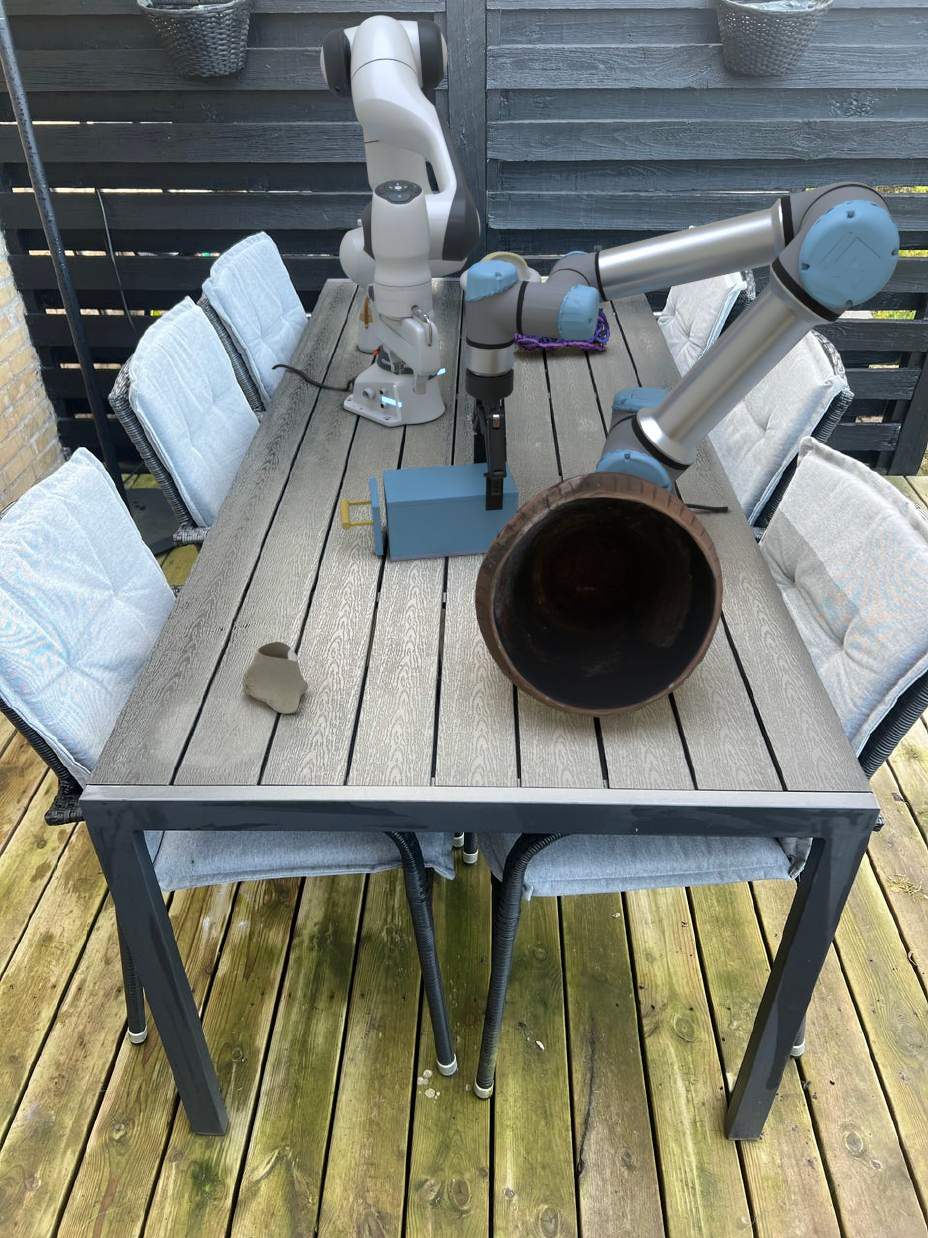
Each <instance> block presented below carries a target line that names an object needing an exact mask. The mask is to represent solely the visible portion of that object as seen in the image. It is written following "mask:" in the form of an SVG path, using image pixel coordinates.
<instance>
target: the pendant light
mask: <svg viewBox="0 0 928 1238" xmlns="http://www.w3.org/2000/svg"><path fill="white" fill-rule="evenodd" d="M357 226H359V227H363V226H362V222H361V218H359V219H357ZM370 300H371V299H370V298H369V297H368V295H366V298H365V300H364V304H363V305H364V306H363V307H364V308H362V309H361V310H360V312H359V317H358V331H357V343H356V344H357V347H358V350H359V351H361V352H364V353H368V354H369V353H370V354H374V353H375V352H372V351H374V350H376V349H377V348H378V346H380V345H382V344H383V343H382V342H381V341H380V340H378V338H377V336H376V334H375V330H374V325H373V318H372V310H371V306H369V303H370Z"/></svg>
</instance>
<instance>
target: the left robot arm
mask: <svg viewBox="0 0 928 1238" xmlns="http://www.w3.org/2000/svg"><path fill="white" fill-rule="evenodd" d="M448 54H449V53H448V45H447V43H446V39H445V37H444V34H443V33H442V31H441V27H440V26H439V25H438V24H437V23H436V22H435V21H432V20H429V19H421V18H418V19H417V20H416V21H415V20H401V19H400V20H397V19H395V18H393V17H392V16H388V15H373V16H371V17H369V18H366V19H365V20H363V22H361V23H360V25H357V26H352V27H348V28H344V27H339V28H336V29H333V30H331V31H329V32H327V33H326V35H325V36H324V38H323V39H322V46H321V50H320V54H319V55H320V57H319V58H320V59H319V60H320V61H319V64H320V69H321V74H322V77H323V79H324V81H325V83H326V84H327V86H328V89H329V90H330V92H331V93H332V94H334V96H336V97H340V98H345V99H352V104H353V110H354V113H355V116H356V119H357V121H358V123H359V125H360V126H361V127H362V133H363V135H362V136H363V143H364V144H363V145H364V153H365V161H366V169H367V179H368V184H369V187H370V189H371V191H372V196H371V197H372V198H371V200H370V201H369V202H368V203H367V204H366V206H365V207H364V209H362V211H361V212H360V219H361V222H362V226H359V227H357V228H353V229H351V230H348V231H347V232H345V234H344V236H343V237H342V240H341V243H340V246H339V251H338V252H339V254H338V255H339V256H338V257H339V262H340V265H341V268H342V270H343V272H344V274H345V275H346V276H347V277H348V279H349V280H350V281H351V282H353V283H354V284H356V285H358V287H360V288H362V289H363V290H364V291H365V292H366V294H367V296H368V297H369V298H370V299H369V300H370V307H371V310H372V318H373V325H374V330H375V334H376V336H377V338H378V340H380V341H381V342H382V343H383V344H382V345H380V346H378V348H377V349H376V350H374V351H372V352H375V353H372V357H375V356H377V359H376V361H375V362H374V363H372V364H371V365H370V366H369V367H367V368H366V369H365V370H362V372H361V373H360V374H357V375H356V376H353V377H352V378H351V379H349V380H348V381H347V382H346V386H345V387H342V388H335V387H331V386H328V385H326V384H323V383H321V382H318V381H316V380H314V379H311V378H310V377H309V376H308V375H307V374H306V373H305V372H304V371H302V370H300V369H298V368H295V367H293V366H290V365H288V364H283V363H278V364H275V365H272V368H271V370H272V371H274V370H276V369H278V368H284V369H288V370H289V371H293V372H295V373H298V374H300V375H301V376H302V377H303V378H304V379H305V381H307V382H308V383H310V384H313V385H315V386H317V387H319V388H323V389H325V390H330V391H331V390H332V391H340V392H347V391H349V390H350V388H351V387H352V393H350V394H349V395H348V396H347V397H346V398H345V400H344V401H343V409H345V410H347V411H349V412H352V413H353V414H356V415H358V416H361V417H363V418H366V419H369V420H371V421H373V422H375V423H378V424H381V425H384V426H386V427H389V428H393V427H398V426H403V425H415V424H423V423H428V422H431V421H433V420H436V419H438V418H440V417H441V416H442V415H443V414H444V413H445V411H446V406H445V403H444V400H443V397H442V394H441V388H440V382H439V375H442V374H444V373H446V369H445V368H442V358H441V346H440V338H439V332H438V328H437V326H436V315H435V311H434V307H433V306H434V304H433V303H434V301H433V279H435V278H436V279H437V278H442V277H444V276H445V277H446V276H448V275H451V274H455V273H457V272H459V271H462V269H463V268H464V266H465V265H466V262H467V261H468V257H470V256H471V254H473V252H474V251H475V250H476V249H477V248H478V247H479V245H480V238H481V220H480V215H479V212H478V209H477V207H476V203H475V200H474V198H473V196H472V194H471V192H470V190H469V186H468V184H467V181H466V177H465V173H464V171H463V167H462V164H461V161H460V157H459V155H458V152H457V151H458V150H457V148H456V145H455V142H454V139H453V136H452V132H451V129H450V127H449V124H448V122H447V119H446V117H445V115H444V113H443V111H442V109H441V108H439V106H436V105H435V104H433V103H432V102H431V101H430V100H428V98H429V93H430V92H432V91H433V90H435V89H437V88H438V87H439V86H440V84H441V82H442V81H443V80H444V79H445V73H446V70H447V66H448V60H449V55H448ZM426 160H427V161H428V162H429V163H430V165H431V167H432V171H433V173H434V177H435V180H436V183H437V187H438V190H439V193H433V191H432V187H431V184H430V181H429V176H428V170H427V165H426Z"/></svg>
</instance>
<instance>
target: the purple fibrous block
mask: <svg viewBox="0 0 928 1238" xmlns="http://www.w3.org/2000/svg"><path fill="white" fill-rule="evenodd" d="M610 337H611V332H610V324H609V322H608V320H607V316H606V314H605V313H604V308H603V307H601V308H600V307H599V312H598V319H597V325H596V329H595V333H594V335H593V336H592V338H590V339H588V340H564V339H559V338H550V337H541V336H533V335H522V334H515V345H517V346H518V349H523V350H524V351H526V352H531V353H532V352H536V351H537V350H538V351H539V352H541V351H545V349H548V350H551V351H552V353H553V354H555V350H556V348H562V349H567V348H572V347H578V348H579V349H580V352H591V351H597V352H600V353H602V351H605V352H606V346H607V345H608V344H607V342H608V341H609V340H610Z"/></svg>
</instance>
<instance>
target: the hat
mask: <svg viewBox="0 0 928 1238" xmlns="http://www.w3.org/2000/svg"><path fill="white" fill-rule="evenodd" d="M489 260H497V261H504V262H505V263H511V264H513V265H514V266H515V267H516V268H517V271H518V276H519V280H524V281H530V282H543V280H542V276H541V274H539V273H540V272H538V271H537V270H535V269H533V268H532V267H529V266H528V264H527V262H526V260H525V259H524V258H523V257H522V256H520V255H519V254H517V253H514V252H509V251H496V252H495V251H494V252H491V253H488V254H486V256H484V257H483V258H482V259H481V260H480V261H479V262H482V261H489ZM469 269H470V268H468V269H466V270H465V271H464V272H463V273H462V274H461V275H460V277H459V287H461V289H462V290H463V292H465V293H466V285H467V272H468V270H469Z"/></svg>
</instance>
